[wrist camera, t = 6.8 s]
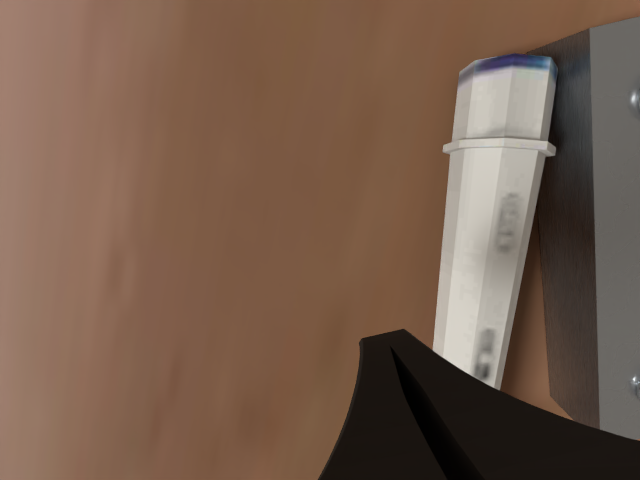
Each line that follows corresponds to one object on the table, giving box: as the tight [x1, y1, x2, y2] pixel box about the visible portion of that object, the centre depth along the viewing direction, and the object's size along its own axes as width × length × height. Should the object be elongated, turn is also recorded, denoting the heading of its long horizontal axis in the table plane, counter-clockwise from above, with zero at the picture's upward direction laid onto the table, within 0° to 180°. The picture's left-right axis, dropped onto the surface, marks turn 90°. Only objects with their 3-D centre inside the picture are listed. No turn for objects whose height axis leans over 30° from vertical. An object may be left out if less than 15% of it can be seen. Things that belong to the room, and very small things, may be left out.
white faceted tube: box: [433, 53, 558, 390], centre depth 19 cm, size 5×7×25 cm
